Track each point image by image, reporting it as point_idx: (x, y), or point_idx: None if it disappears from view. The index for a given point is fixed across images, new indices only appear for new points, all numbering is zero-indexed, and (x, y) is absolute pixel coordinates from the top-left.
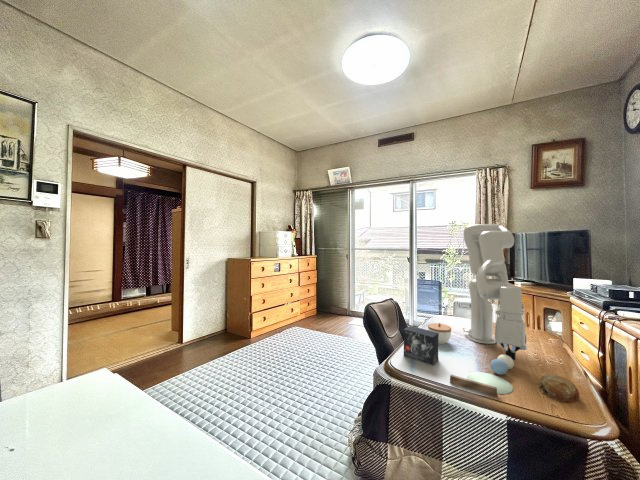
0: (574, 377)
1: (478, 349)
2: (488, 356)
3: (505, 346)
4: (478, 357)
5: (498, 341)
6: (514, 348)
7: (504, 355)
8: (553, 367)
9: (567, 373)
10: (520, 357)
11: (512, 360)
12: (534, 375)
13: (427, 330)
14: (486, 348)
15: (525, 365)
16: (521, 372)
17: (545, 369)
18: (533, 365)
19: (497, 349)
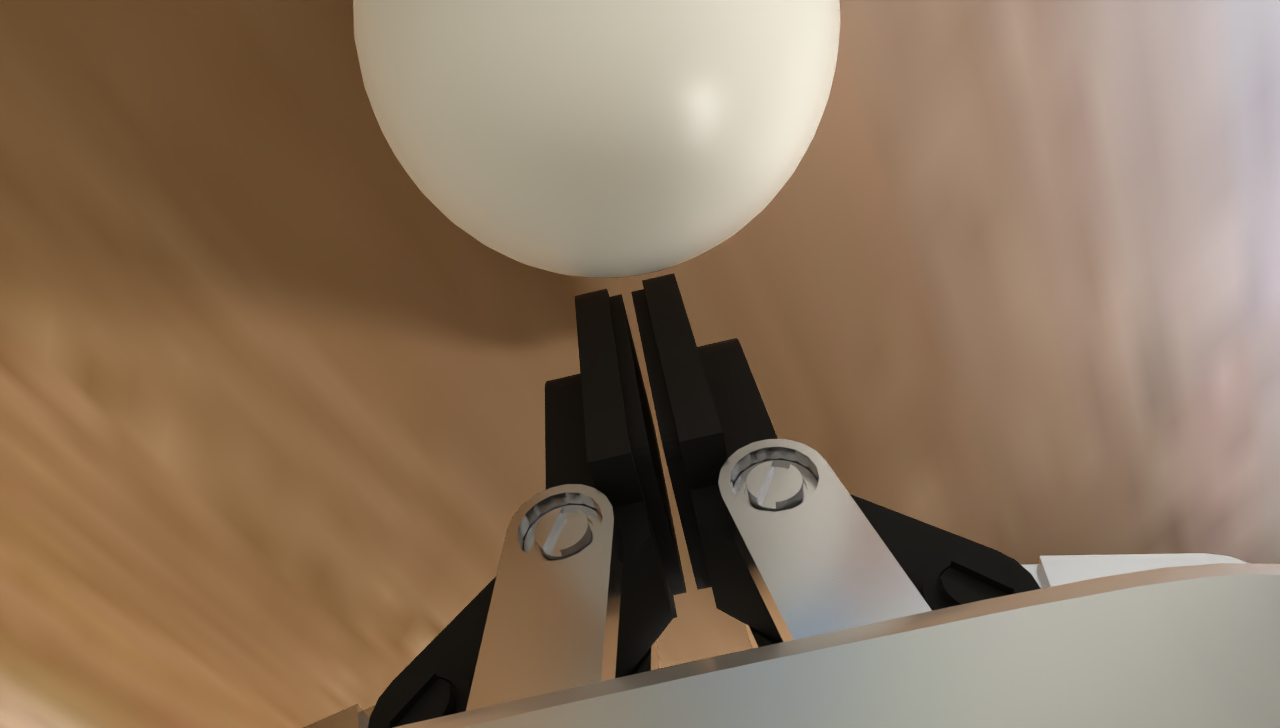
0: (3, 692)
1: (1276, 401)
2: (1067, 287)
3: (823, 555)
4: (1253, 22)
5: (1221, 571)
6: (508, 636)
7: (616, 36)
8: (316, 719)
9: (128, 714)
10: (695, 652)
11: (390, 133)
12: (139, 279)
13: None
14: (1155, 534)
15: (502, 503)
16: (317, 170)
17: (297, 612)
18: (453, 590)
19: None
